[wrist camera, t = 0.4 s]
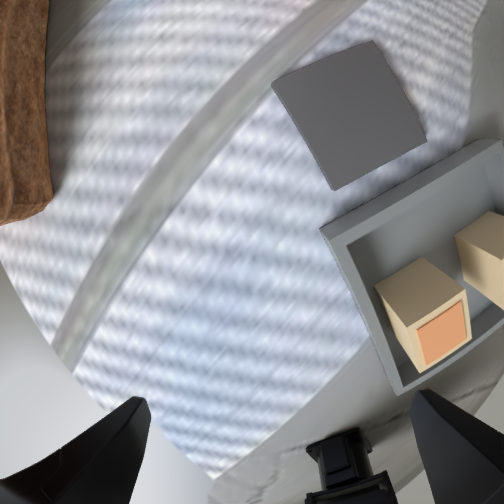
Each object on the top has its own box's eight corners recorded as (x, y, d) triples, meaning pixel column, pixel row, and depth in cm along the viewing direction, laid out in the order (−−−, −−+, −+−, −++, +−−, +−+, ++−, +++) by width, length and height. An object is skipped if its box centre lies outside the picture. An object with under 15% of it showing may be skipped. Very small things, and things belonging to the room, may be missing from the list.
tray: (509, 291, 21) (525, 303, 18) (386, 375, 24) (397, 396, 21) (478, 139, 17) (501, 139, 14) (319, 228, 20) (328, 240, 17)
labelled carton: (434, 300, 21) (472, 339, 15) (389, 328, 22) (420, 374, 16) (421, 256, 20) (466, 289, 14) (373, 285, 21) (407, 329, 15)
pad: (420, 141, 18) (427, 141, 17) (331, 189, 19) (334, 191, 18) (367, 44, 16) (372, 40, 15) (271, 86, 17) (271, 82, 16)
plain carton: (496, 254, 19) (539, 279, 14) (464, 280, 20) (505, 311, 15) (488, 210, 18) (536, 228, 13) (454, 235, 19) (501, 260, 13)
